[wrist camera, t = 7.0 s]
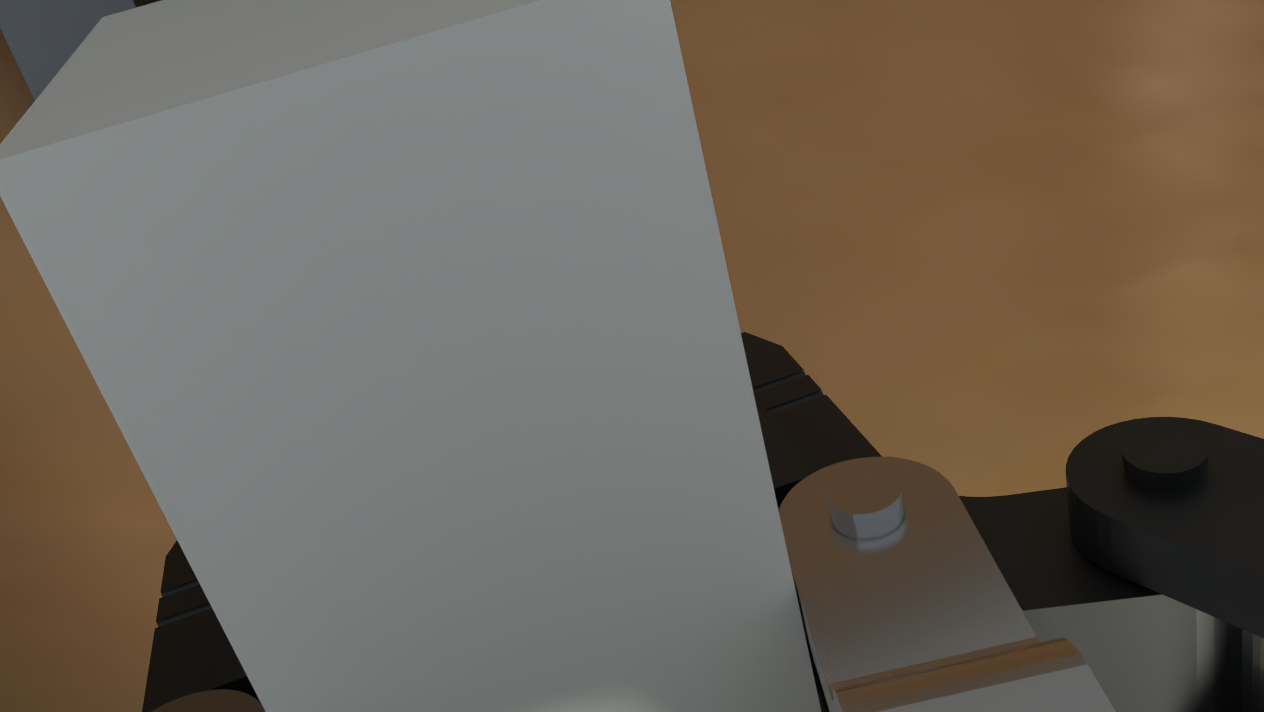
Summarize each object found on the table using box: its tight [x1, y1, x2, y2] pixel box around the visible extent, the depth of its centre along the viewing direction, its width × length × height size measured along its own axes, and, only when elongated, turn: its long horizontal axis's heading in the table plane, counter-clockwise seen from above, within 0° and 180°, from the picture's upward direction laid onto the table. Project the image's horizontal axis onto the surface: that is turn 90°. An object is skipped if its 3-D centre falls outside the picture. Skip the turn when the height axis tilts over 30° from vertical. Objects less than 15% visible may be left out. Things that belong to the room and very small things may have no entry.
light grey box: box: [0, 0, 821, 712], centre depth 11 cm, size 10×3×7 cm, turn 13°
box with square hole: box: [0, 0, 161, 100], centre depth 17 cm, size 14×7×4 cm, turn 13°
